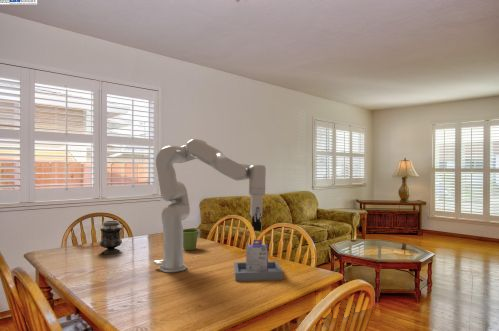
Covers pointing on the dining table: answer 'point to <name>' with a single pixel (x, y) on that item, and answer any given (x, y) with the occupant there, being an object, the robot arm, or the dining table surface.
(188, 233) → the plant pot
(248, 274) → the trough
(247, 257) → the ink cartridge box
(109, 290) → the dining table surface
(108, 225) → the apothecary jar
